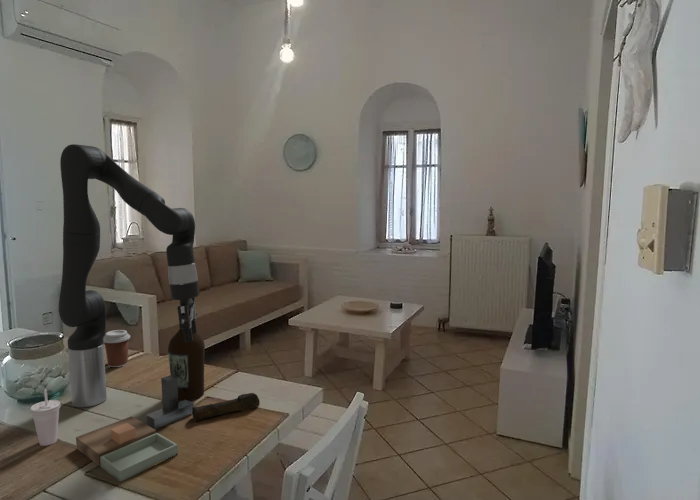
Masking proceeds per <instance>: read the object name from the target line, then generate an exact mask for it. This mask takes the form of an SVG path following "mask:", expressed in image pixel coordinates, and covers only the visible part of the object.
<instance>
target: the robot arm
mask: <svg viewBox="0 0 700 500" xmlns="http://www.w3.org/2000/svg"><path fill="white" fill-rule="evenodd" d="M60 155H61V156H60V160H59V161H60V163H59V164H60V165H59V166H60V177H61V184H62V185H61V186H62V196H63V197H62V199H63V201H62V204H63V224H62V225H63V226H62V227H63V228H62V251H63V254H62V272H61V273H62V276H61V284H60V291H59V299H58V315H59V318H60V321H61V322H62V323H63V324H64V325H65V326H67V327H69V328H76V329H75V330H74V332H73V333H72V334H71V335H70V336H69V337H68V338H67V353H68V354H67V355H68V364H69V365H68V366H69V380H70V381H69V382H70V398H71V399H70V400H71V406H73V407H74V408H90V407H94V406H97V405H100V404H102V403H103V402H104V401H106V400H107V399H108V398H107V397H108V395H107V377H106V364H105V363H106V362H105V361H106V360H105V342H103V338H104V337H105V334H106V333H107V332H106V330H107V325H106V324H107V317H106V316H107V312H106V311H107V308H106V303H105V299H104V297H103V296H102V294H101V293H99V292H98V291H96V290H91V289H88V290H86V288H87V287H86V286H87V280H88V276H89V273H90V272H91V270H92V267H93V265H94V264H95V261H96V259H97V258H98V255H99V252H100V247H101V224H100V221H99V219H98V217H97V213H96V212H95V210H94V208H93V207H92V205H91V202H90V199H89V192H88V190H89V187H88V184H89V180H97V181H99V182H102V183H104V184H106V185H109V186H110V187H111V188H113V190H115V191H116V192H117V194H118V196H119V197H120V198H121V200H123V202H124V204H127V205H128V206H129V207H130V208H131V209H134V210H135V211H136V212H138V213H139V214H141V215H142V216H144V217H146V219H147V220H148V221H149V223H151V225H152V226H154V227H155V229H157V230H158V231H160V233H163V234H165V235H169V236H170V235H171V236H172V241H171V243H170V244H168V245H167V246H166V249H165V250H166V253H165V254H166V260H167V270H168V271H167V272H168V273H167V276H168V282H169V290H170V291H169V292H170V298H171V300H174V301H177V300H178V301H179V305H178V306H177V309H176V310H177V315H178V323H179V329H182V330H183V338H184V342H185V343H187V342H192V340H193V338H192V334H195V333H196V332H197V333H198V331H197V330H198V329H197V322H196V321H197V315H198V314H197V308H196V307H197V306H196V302H195V300H196V298H198V297H199V296H200V286H199V278H198V271H197V267H196V262H195V260H196V259H195V253H194V243H195V234H196V223H195V221H196V220H195V218H194V215H193V214H192V212H191V211H190V210H189V209H187V208H183V207H178V208H175V207H174V208H171V207H170V206H168V205H166V201H165V199H164V197H163V196H162V195H160V194H158V192H155V191H154V190H153V189H152V188H150V187H148V186H146V185H145V184H144V183H142V182H140V181H139V180H137V179H136V178H135V177H134V176H132V175H131V174H129V173H128V172H127V171H126V170H125V169H123V168H122V167H121V166H120V165H119V164H118V163H117V162H116V161H114V160H113V159H112V158H111V157H110V155H108V154H107V153H106V152H105V151H103V150H102V149H101V148H99V147H97V146H92V145H85V144H76V143H75V144H72V143H71V144H68V145H67V146H65V147H64V148H63V150H62V152H61V154H60ZM185 321H187V323H185V324H184V322H185Z"/></svg>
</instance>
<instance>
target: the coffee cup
mask: <svg viewBox="0 0 700 500" xmlns="http://www.w3.org/2000/svg"><path fill="white" fill-rule="evenodd" d="M130 339H131V334H129V333H128V331H127V330H125V329H116V330H110V331H109V330H108V331H107V332H105V335H104V338H103V343H104V349H105V354H106V359H107V360H106V361H107V367H108V366H109V367H108V368H110V367H119V368H121V367H120V366H123V367H125V366H127V365H128V364H129V363H128V361H129V360H128V359H129V340H130ZM127 363H128V364H127ZM126 364H127V365H126ZM124 365H125V366H124Z"/></svg>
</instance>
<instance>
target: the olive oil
mask: <svg viewBox="0 0 700 500" xmlns="http://www.w3.org/2000/svg"><path fill="white" fill-rule="evenodd" d="M185 323H187V321H185V322H184V324H185ZM192 338H193V340H192V342H187V343H185V342H184V338H183V330H182V329H180V328H179V329H178V331H177V332H175V334H174V335H173V336H172V337H171V338H170V340H169V343H168V347H167V354H168V361H169V371H170V372H169V375H173V376H175V377H177V381H178V402H181V401H183V400H188V401H194V400H196V399H199V398H202V396H203V395H204V394H205V354H206V352H205V351H206V348H205V347H206V346H205V341H204V339H203V337H202V336H201V334H199V332H198V331H197V332H196V333H195V334H192Z"/></svg>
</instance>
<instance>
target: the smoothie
mask: <svg viewBox="0 0 700 500" xmlns="http://www.w3.org/2000/svg"><path fill="white" fill-rule="evenodd" d="M43 393H44V394H43V396H44V401H40V402H37V403H35V404H33V405H32V406H30V414H31V415H32V418H33V422H34V427H35V430H36V431H35V432H36V434H37V438H38V443H39V445H40V446H42V447H44V446H50V445H53V444H55V443H56V442H57V441H58V430H59V429H58V428H59V417H60V408H61V406H62V405H61V401H59V400H58V399H49V400H48V389H47V388H45V389H44V390H43Z"/></svg>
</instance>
